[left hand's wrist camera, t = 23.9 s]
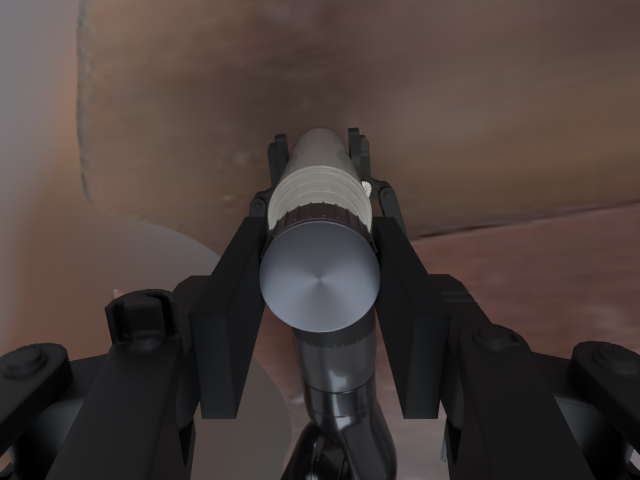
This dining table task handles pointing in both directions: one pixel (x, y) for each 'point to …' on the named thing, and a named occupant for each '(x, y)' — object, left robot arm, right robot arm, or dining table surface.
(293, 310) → the cap
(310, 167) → the bottle
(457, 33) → the dining table surface
